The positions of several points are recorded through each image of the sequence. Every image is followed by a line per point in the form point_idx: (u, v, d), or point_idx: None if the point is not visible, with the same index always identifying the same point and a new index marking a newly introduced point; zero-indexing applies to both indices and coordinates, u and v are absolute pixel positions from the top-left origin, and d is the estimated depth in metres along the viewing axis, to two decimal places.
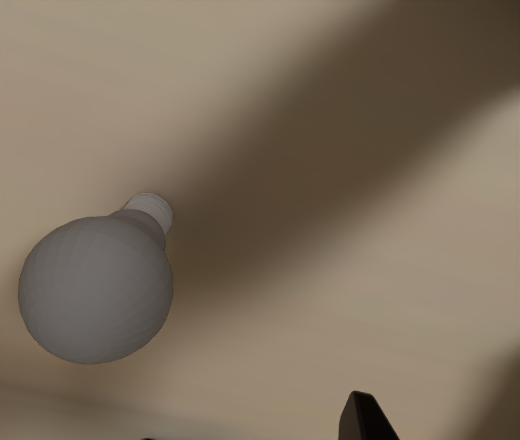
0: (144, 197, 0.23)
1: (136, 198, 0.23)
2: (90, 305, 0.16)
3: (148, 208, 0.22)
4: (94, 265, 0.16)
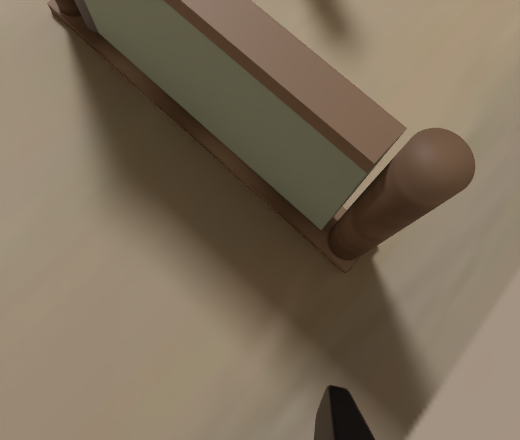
0: None
1: None
2: None
3: None
4: None
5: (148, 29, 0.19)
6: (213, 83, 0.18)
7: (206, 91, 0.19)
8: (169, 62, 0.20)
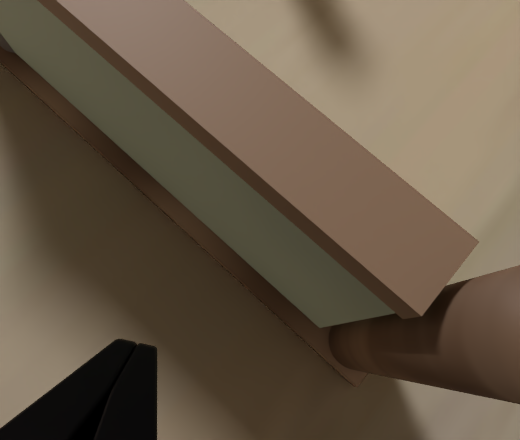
0: None
1: None
2: None
3: None
4: None
5: (54, 51, 0.12)
6: (151, 134, 0.12)
7: (146, 142, 0.13)
8: (94, 98, 0.14)
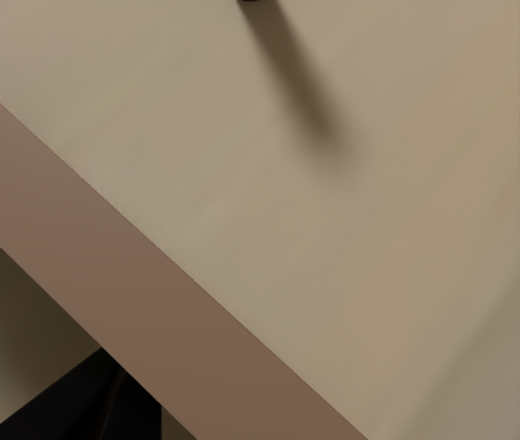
0: None
1: None
2: None
3: None
4: None
5: None
6: None
7: None
8: None
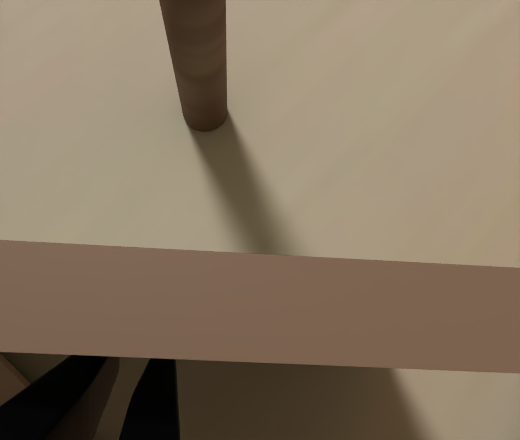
0: None
1: None
2: None
3: None
4: None
5: None
6: None
7: None
8: None
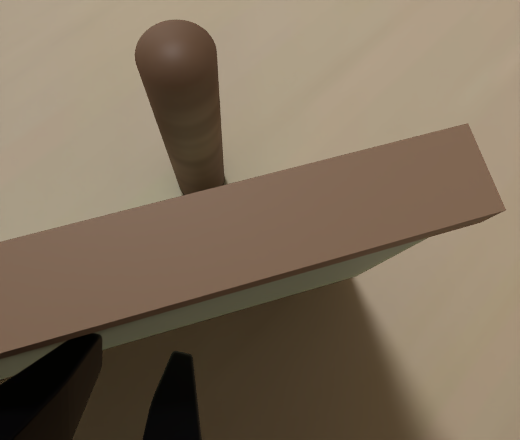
0: None
1: None
2: None
3: None
4: None
5: None
6: (127, 328, 0.10)
7: (119, 334, 0.11)
8: (31, 360, 0.11)
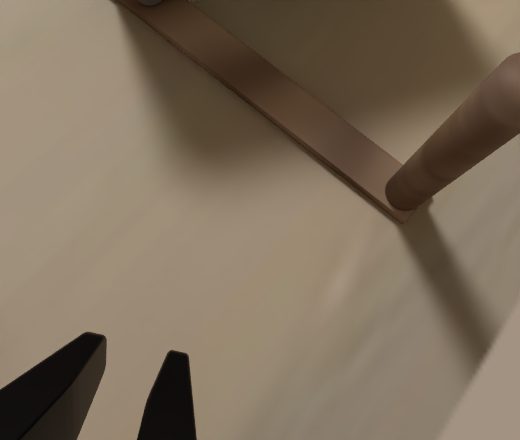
0: None
1: None
2: None
3: None
4: None
5: None
6: None
7: None
8: None
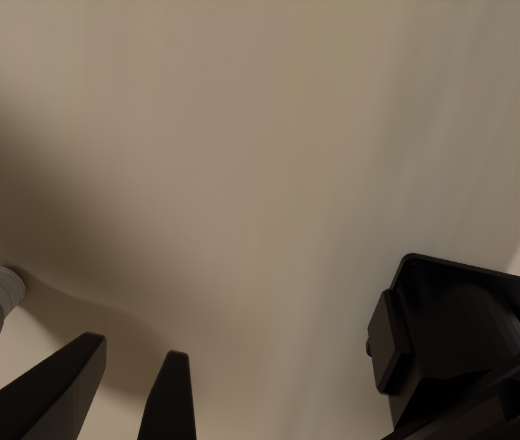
0: None
1: None
2: None
3: None
4: None
5: None
6: None
7: None
8: None
